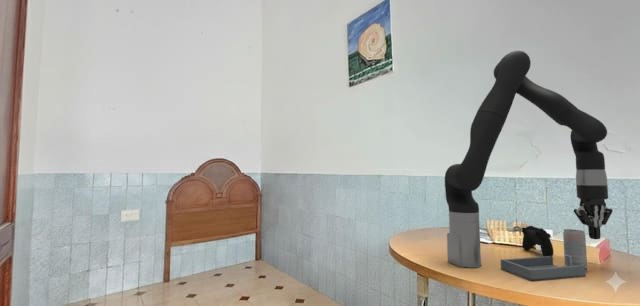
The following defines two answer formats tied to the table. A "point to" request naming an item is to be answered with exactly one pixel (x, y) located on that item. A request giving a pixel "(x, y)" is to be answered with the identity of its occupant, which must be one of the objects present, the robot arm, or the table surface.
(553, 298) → the table surface
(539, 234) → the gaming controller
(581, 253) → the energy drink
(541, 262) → the tray
